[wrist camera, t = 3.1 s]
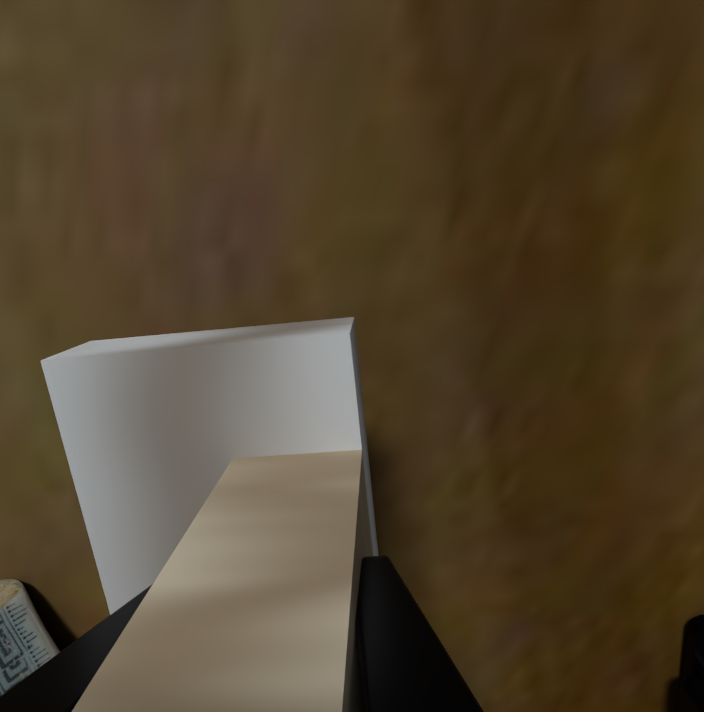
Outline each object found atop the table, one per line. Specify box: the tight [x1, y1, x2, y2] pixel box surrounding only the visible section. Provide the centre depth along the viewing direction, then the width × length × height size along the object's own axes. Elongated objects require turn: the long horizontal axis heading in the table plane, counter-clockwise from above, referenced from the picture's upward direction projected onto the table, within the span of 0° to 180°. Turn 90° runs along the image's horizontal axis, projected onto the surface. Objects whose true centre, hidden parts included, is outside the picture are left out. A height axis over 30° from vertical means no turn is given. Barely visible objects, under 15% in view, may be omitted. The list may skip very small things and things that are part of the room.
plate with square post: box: [41, 317, 379, 712], centre depth 7 cm, size 6×7×9 cm
